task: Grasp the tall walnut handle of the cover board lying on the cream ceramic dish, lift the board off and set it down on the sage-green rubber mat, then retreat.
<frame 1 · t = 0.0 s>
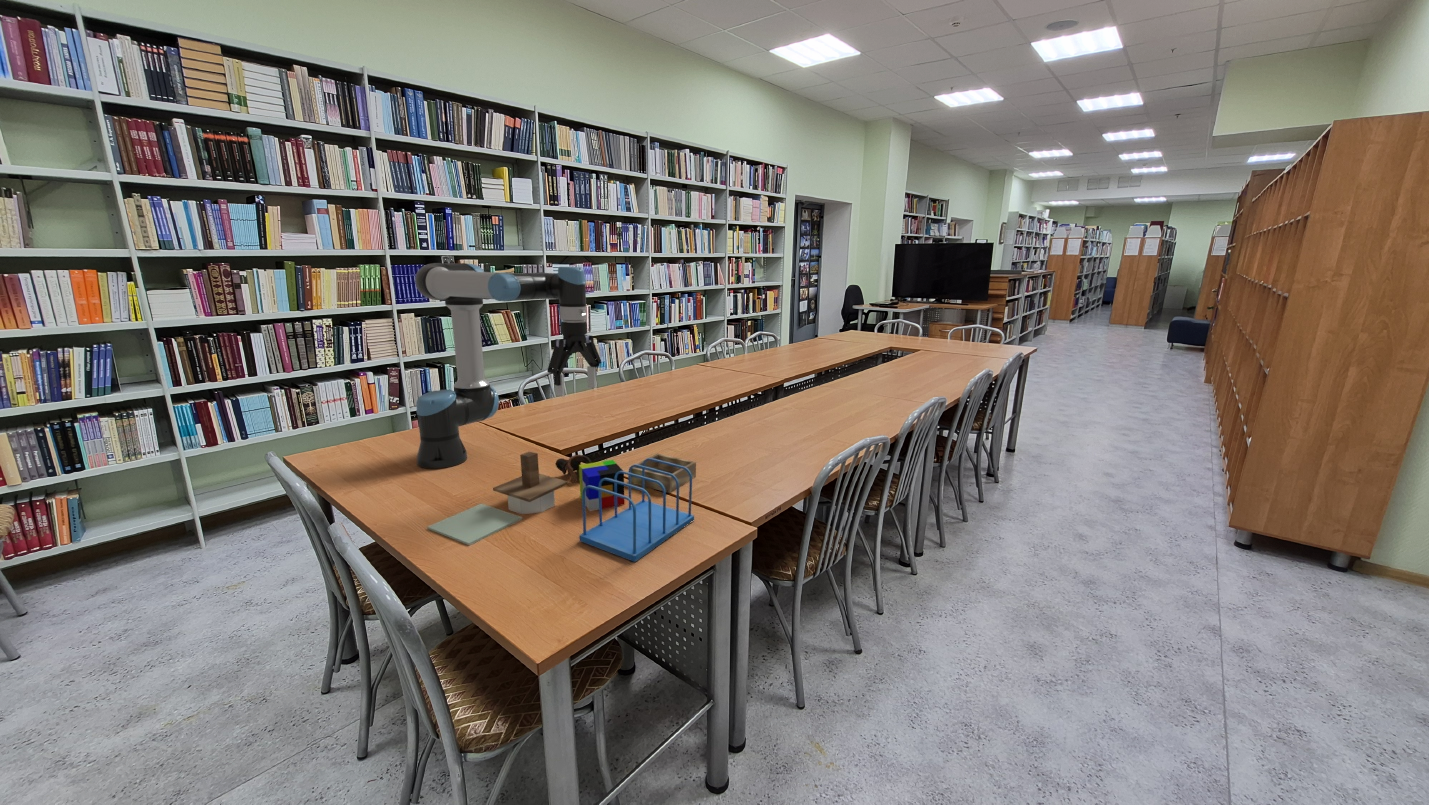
hand: (576, 391, 163), 28 cm above the table, fingers open, 13 cm apart
lid: (531, 487, 150), point 5 cm above the table, touching bowl
bowl: (532, 503, 151), on the table
file sorter: (639, 532, 137), on the table
puzzle toy: (602, 501, 154), on the table
mat: (475, 524, 139), on the table
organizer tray: (663, 479, 170), on the table
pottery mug: (574, 477, 171), on the table
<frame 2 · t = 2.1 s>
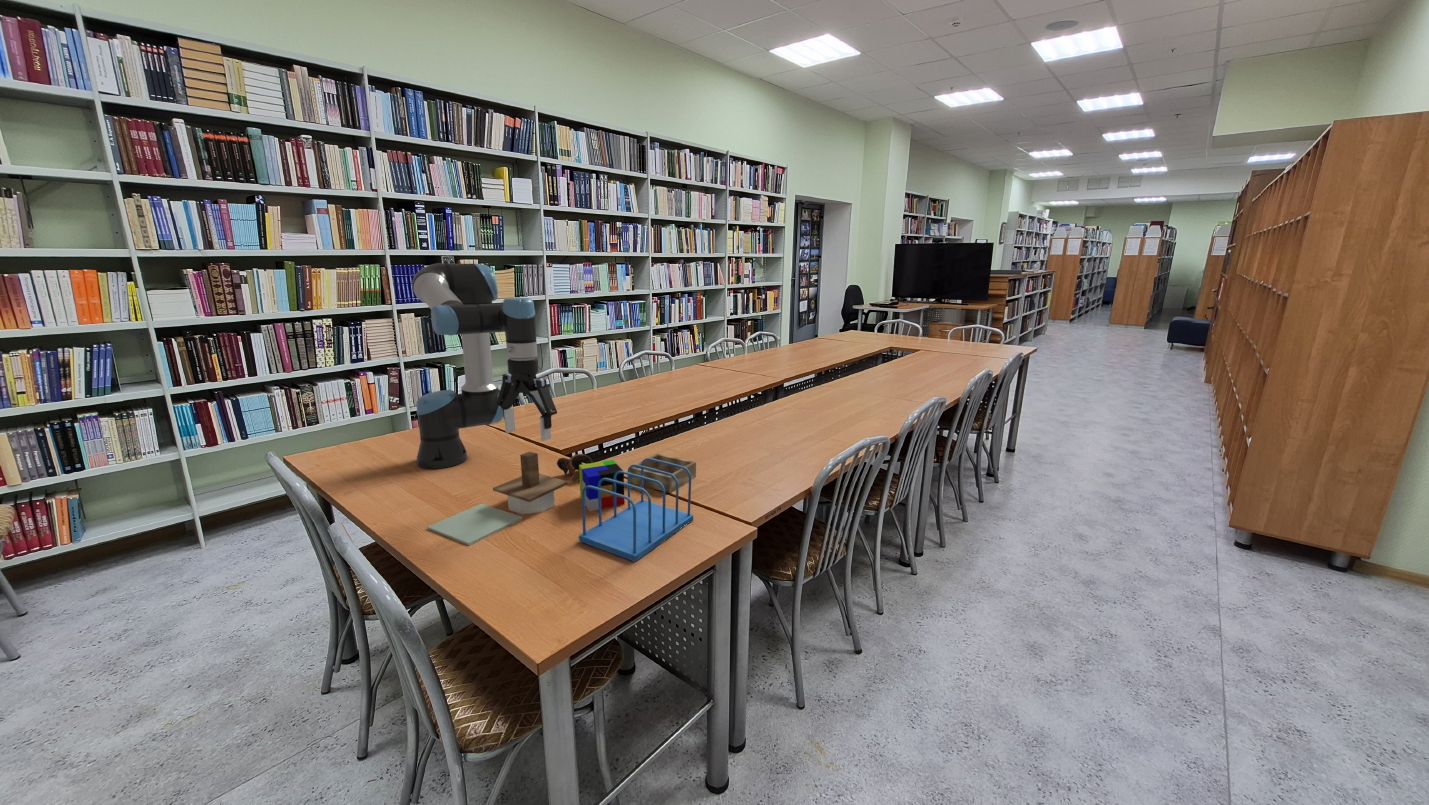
hand: (528, 435, 146), 20 cm above the table, fingers open, 13 cm apart
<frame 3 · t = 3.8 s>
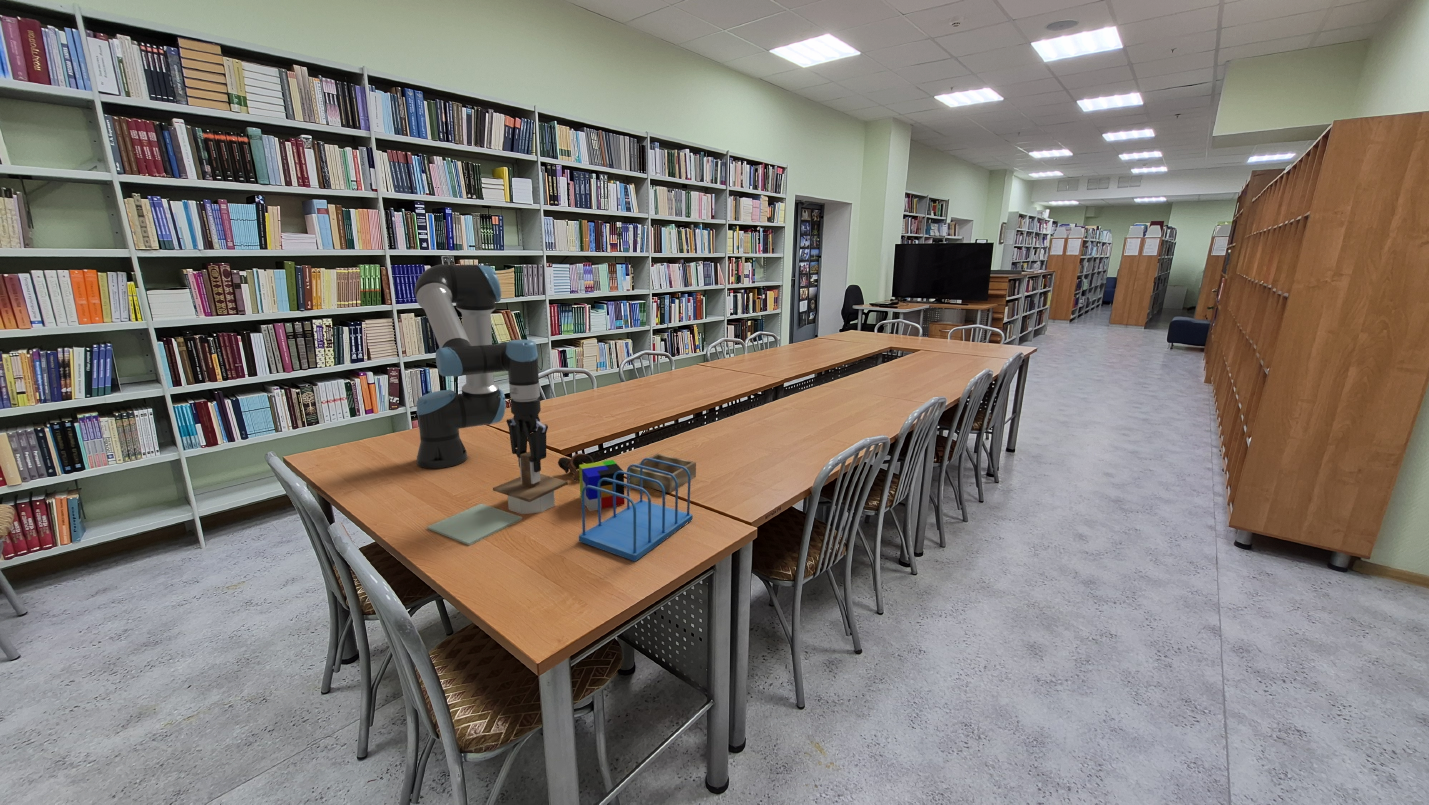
hand: (530, 480, 149), 7 cm above the table, fingers closed on lid, 3 cm apart
lid: (531, 487, 150), point 5 cm above the table, touching bowl, gripper
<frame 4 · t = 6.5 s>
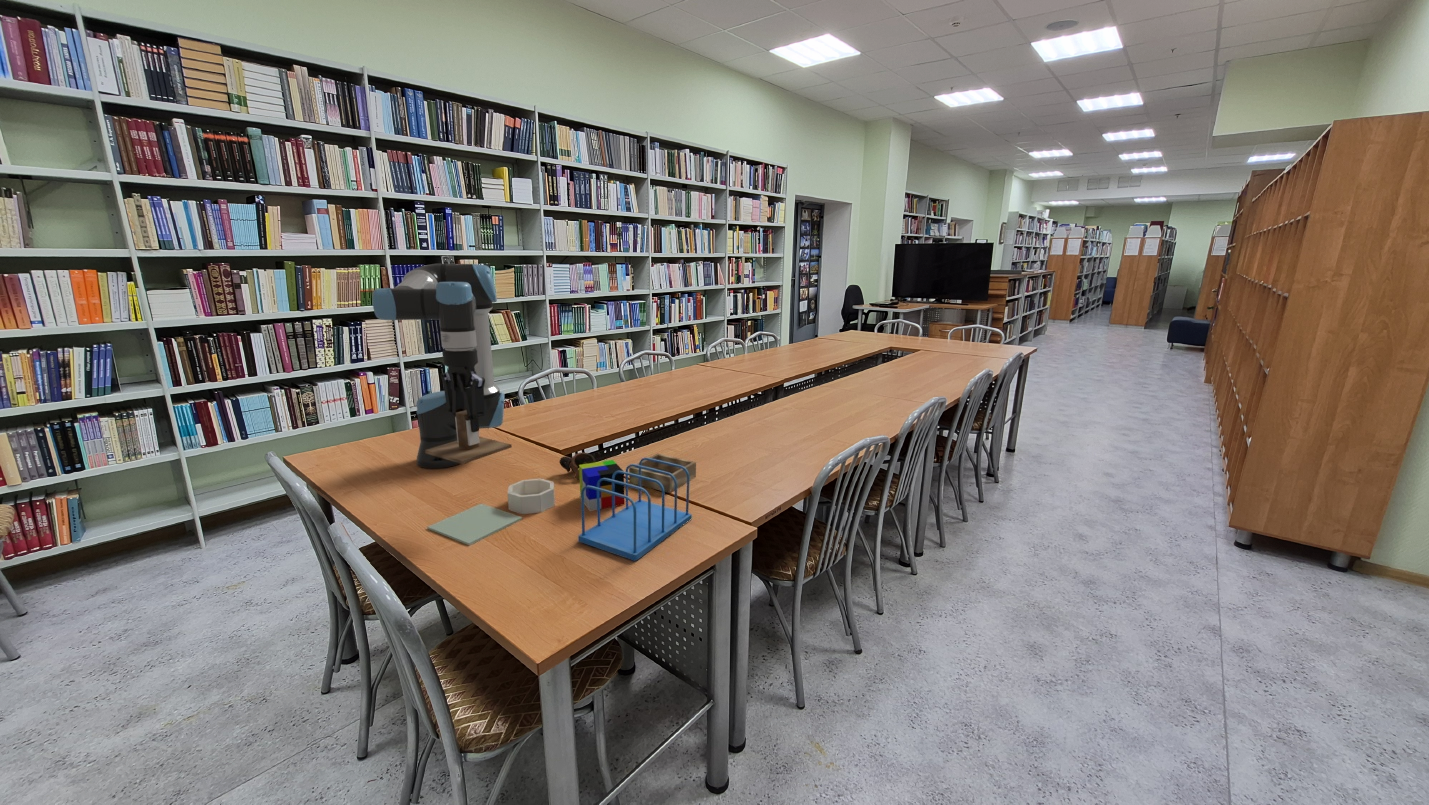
hand: (468, 442, 134), 22 cm above the table, fingers closed on lid, 3 cm apart
lid: (469, 450, 134), point 20 cm above the table, touching gripper
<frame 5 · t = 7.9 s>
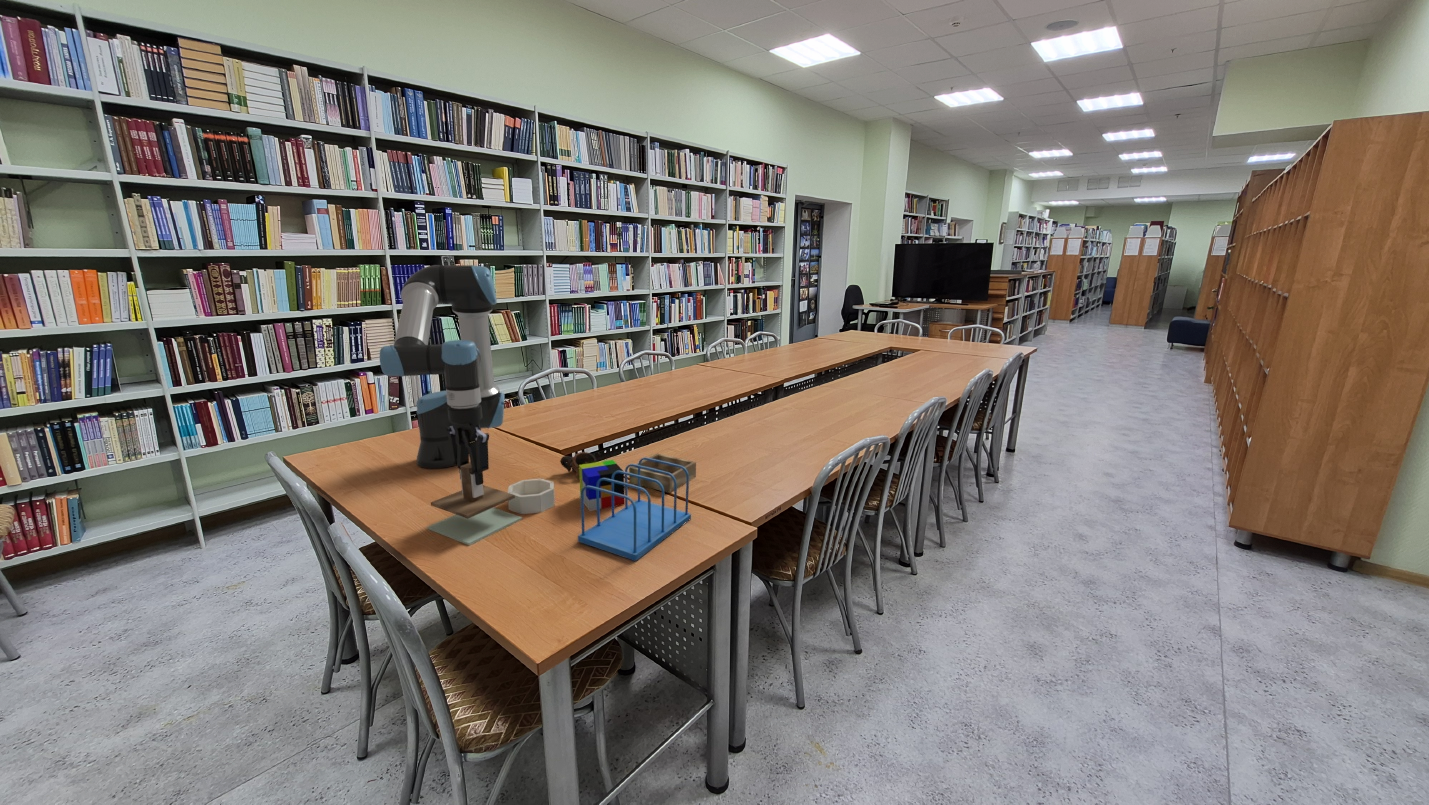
hand: (473, 493, 137), 8 cm above the table, fingers closed on lid, 3 cm apart
lid: (473, 501, 137), point 6 cm above the table, touching gripper
when the fingers open (4 cm above the table, at t = 9.0 s): lid drops 1 cm, resting on mat.
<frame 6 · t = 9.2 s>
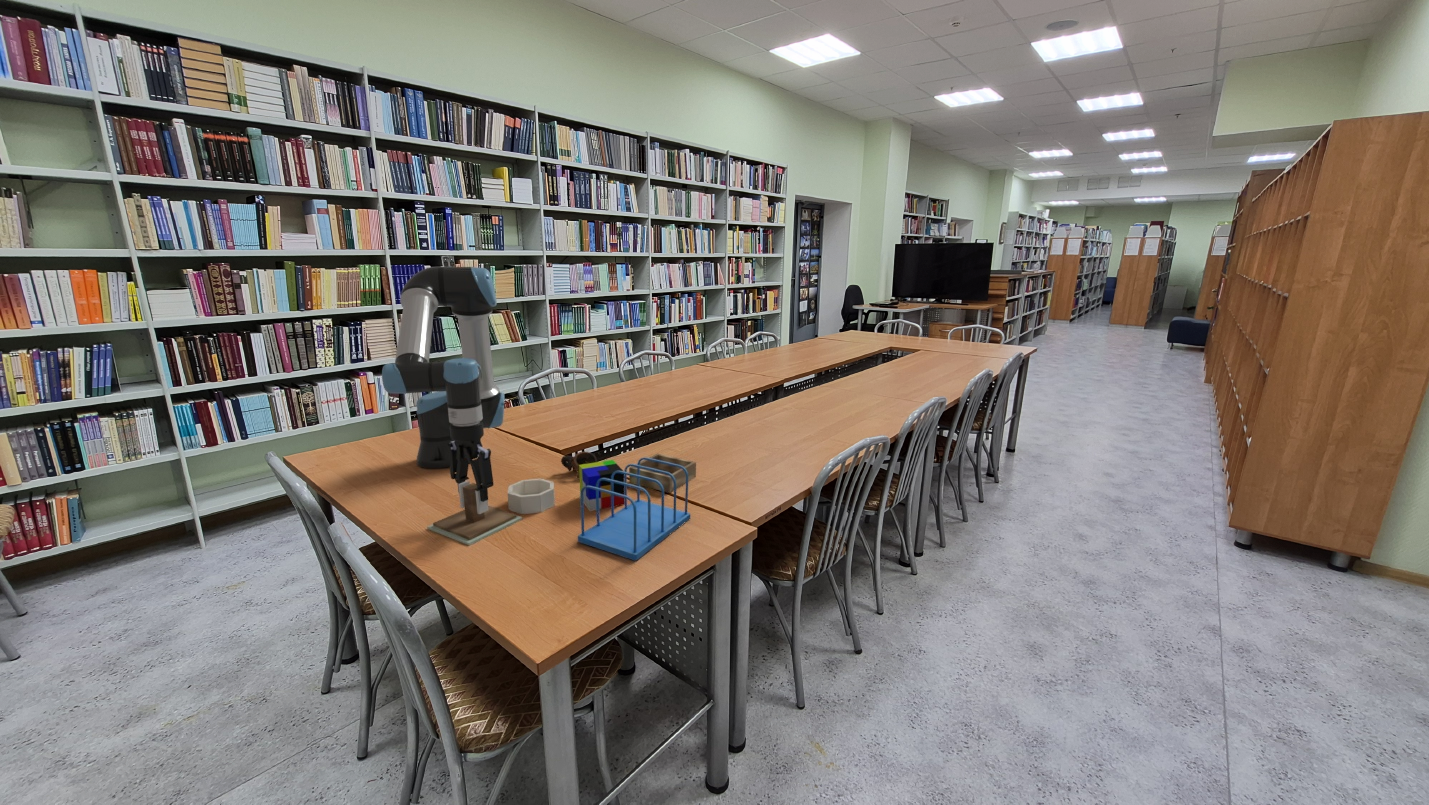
hand: (474, 508, 138), 4 cm above the table, fingers open, 6 cm apart
lid: (475, 521, 139), point 1 cm above the table, touching mat
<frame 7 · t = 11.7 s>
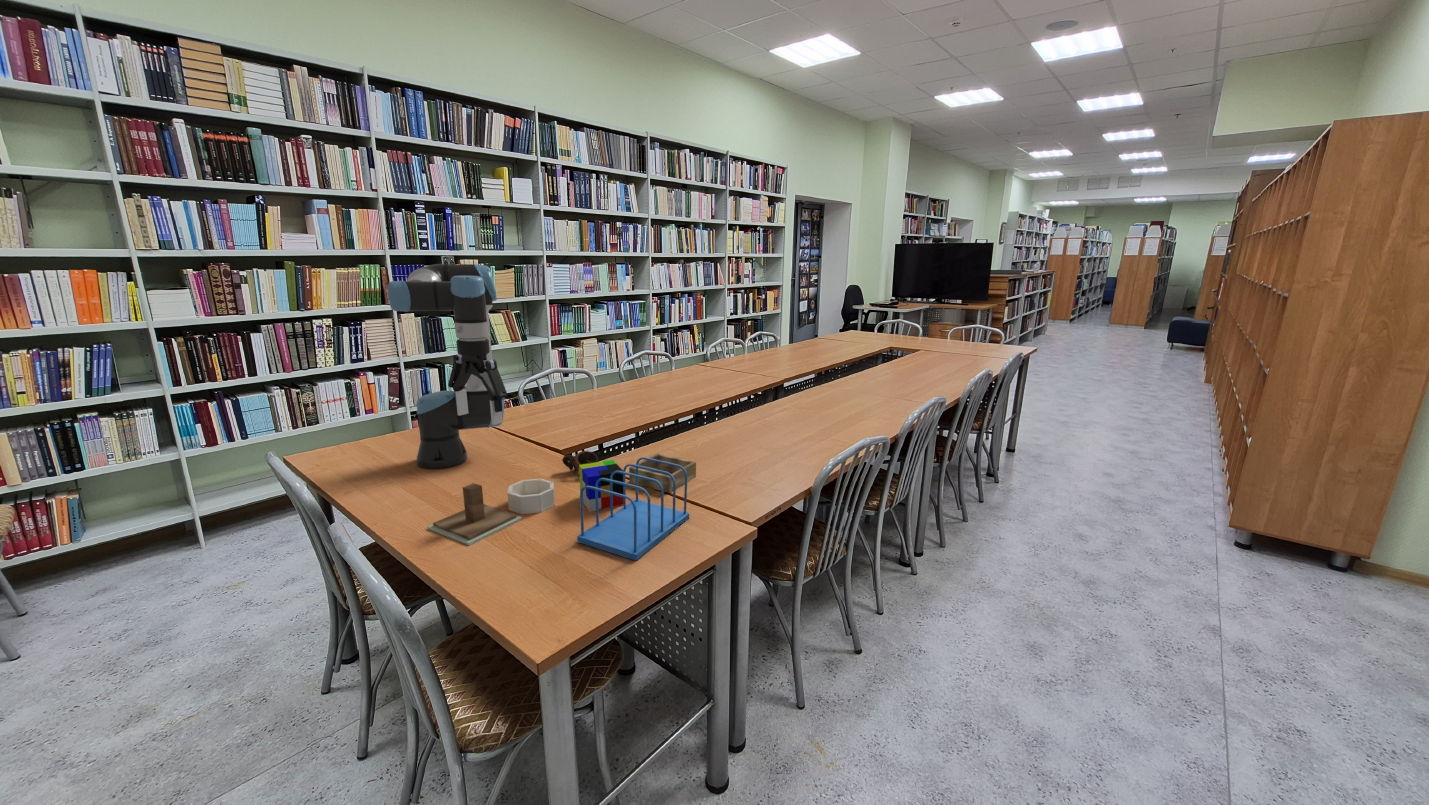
hand: (479, 418, 142), 25 cm above the table, fingers open, 13 cm apart
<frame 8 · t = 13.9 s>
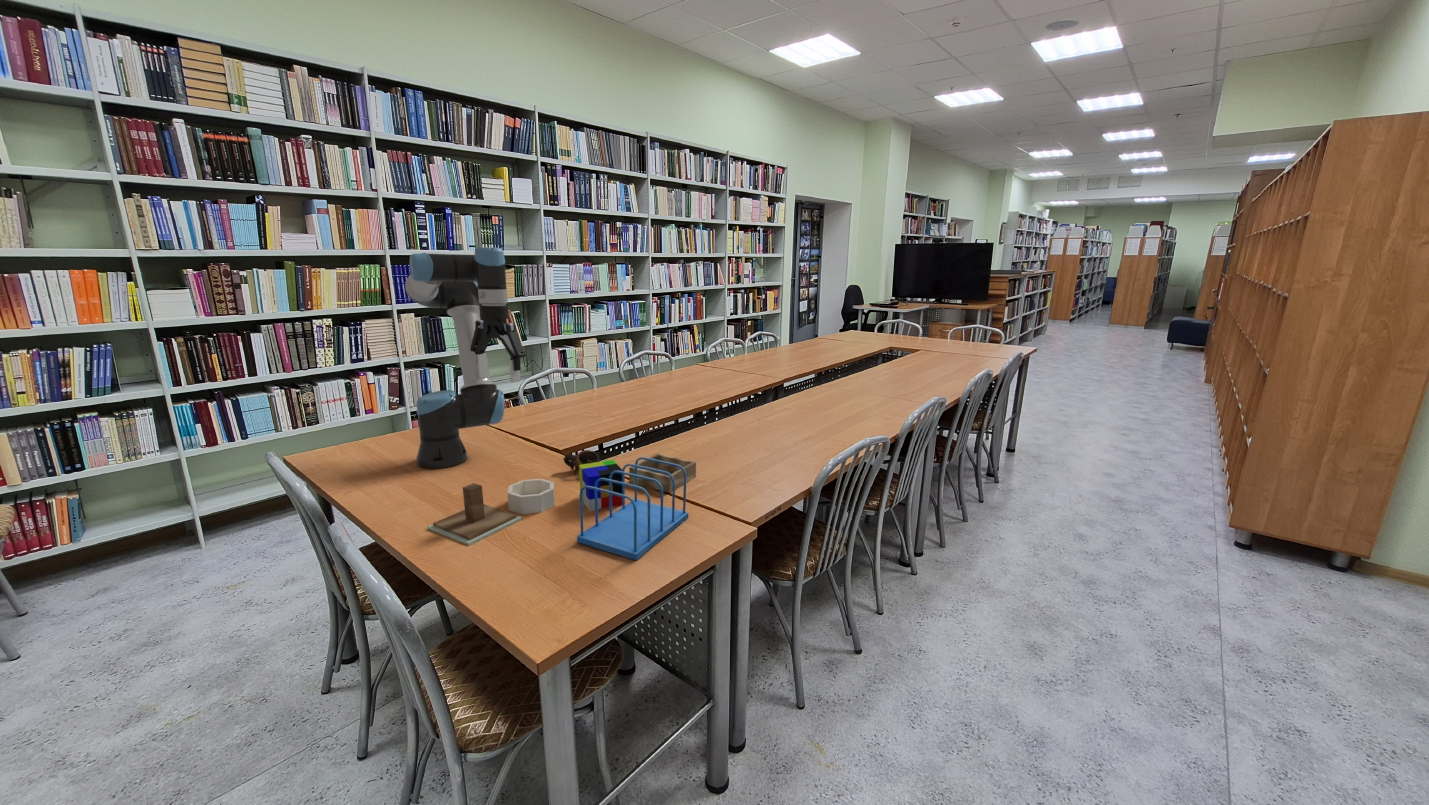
hand: (499, 379, 156), 33 cm above the table, fingers open, 13 cm apart
at the end: lid inside the target area on the mat (0.0 cm from its centre), point 0.6 cm above the mat's base; lid touching mat; lid tilted 0° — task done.
